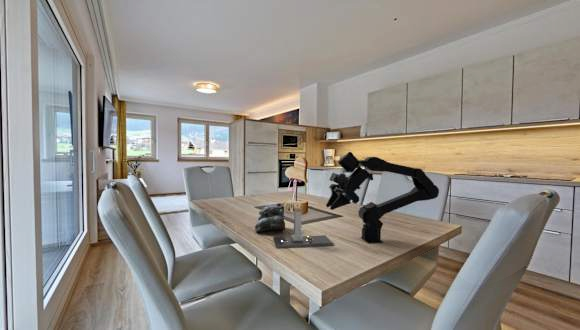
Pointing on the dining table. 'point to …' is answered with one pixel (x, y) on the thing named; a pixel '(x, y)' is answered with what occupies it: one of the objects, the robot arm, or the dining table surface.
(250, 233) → the dining table surface
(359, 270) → the dining table surface
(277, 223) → the dark grey lumpy block
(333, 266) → the dining table surface
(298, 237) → the post
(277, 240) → the bolt plate
